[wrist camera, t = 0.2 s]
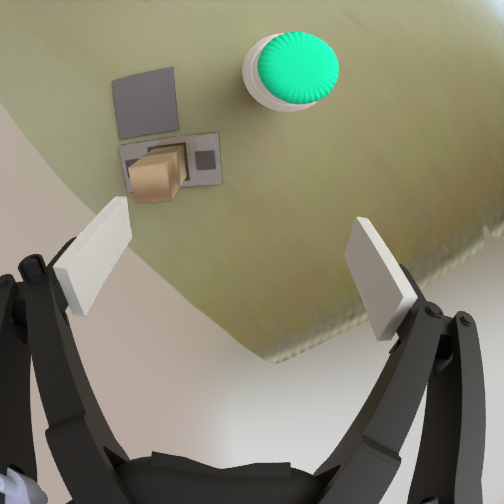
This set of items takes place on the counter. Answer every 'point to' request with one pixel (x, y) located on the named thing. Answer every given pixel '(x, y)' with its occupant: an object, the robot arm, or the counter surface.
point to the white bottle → (290, 71)
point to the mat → (146, 103)
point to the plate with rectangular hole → (198, 154)
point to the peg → (158, 174)
